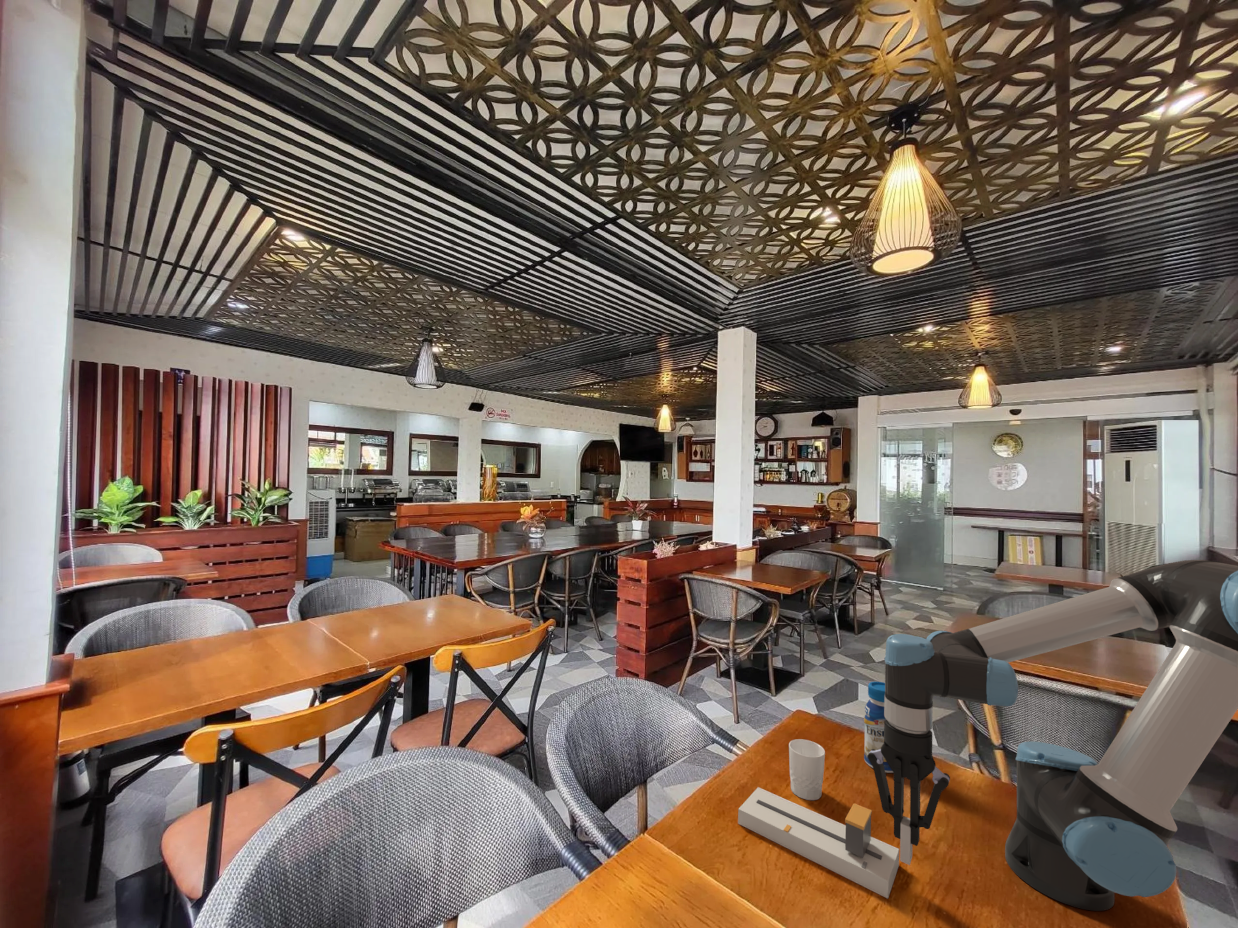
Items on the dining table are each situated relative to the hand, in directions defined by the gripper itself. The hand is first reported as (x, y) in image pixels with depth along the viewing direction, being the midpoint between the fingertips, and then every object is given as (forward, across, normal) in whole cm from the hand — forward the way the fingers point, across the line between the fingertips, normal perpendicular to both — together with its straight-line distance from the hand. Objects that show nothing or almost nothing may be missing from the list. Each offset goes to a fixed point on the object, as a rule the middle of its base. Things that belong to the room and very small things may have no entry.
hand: (906, 858), depth 88 cm
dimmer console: (+5, +16, 0) cm, 17 cm away
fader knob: (+1, +8, 0) cm, 8 cm away
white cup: (+5, +23, -16) cm, 28 cm away
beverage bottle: (+5, +12, -41) cm, 43 cm away
